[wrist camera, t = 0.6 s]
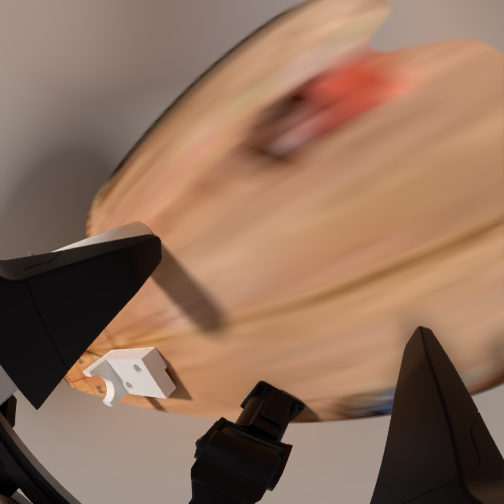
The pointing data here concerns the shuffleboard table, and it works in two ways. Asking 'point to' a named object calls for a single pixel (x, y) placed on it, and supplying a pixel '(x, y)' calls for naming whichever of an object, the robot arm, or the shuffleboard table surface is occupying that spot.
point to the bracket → (132, 374)
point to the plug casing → (113, 235)
